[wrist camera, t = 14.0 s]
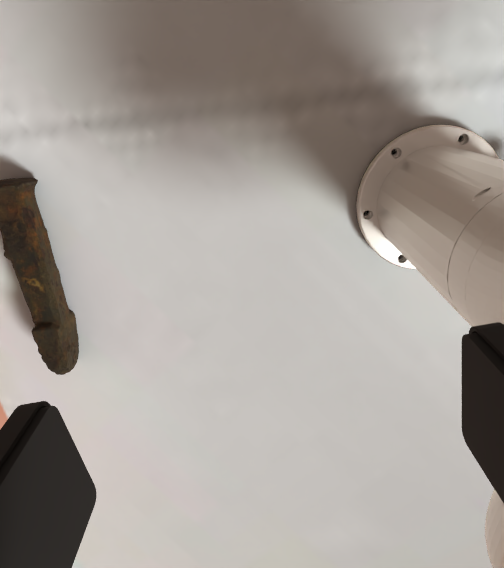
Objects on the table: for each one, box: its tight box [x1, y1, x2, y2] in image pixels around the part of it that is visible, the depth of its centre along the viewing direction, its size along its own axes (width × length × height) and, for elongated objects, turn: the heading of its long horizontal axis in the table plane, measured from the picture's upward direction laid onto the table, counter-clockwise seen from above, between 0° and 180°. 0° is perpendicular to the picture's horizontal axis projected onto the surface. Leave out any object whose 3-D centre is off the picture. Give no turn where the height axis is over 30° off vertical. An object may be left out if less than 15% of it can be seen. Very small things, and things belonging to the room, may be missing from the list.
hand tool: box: [0, 178, 79, 375], centre depth 39 cm, size 19×4×5 cm, turn 4°
